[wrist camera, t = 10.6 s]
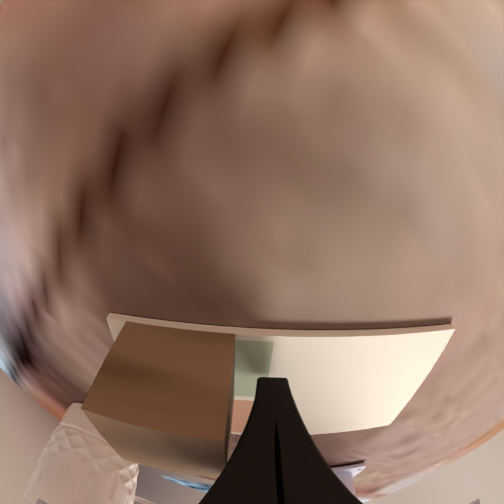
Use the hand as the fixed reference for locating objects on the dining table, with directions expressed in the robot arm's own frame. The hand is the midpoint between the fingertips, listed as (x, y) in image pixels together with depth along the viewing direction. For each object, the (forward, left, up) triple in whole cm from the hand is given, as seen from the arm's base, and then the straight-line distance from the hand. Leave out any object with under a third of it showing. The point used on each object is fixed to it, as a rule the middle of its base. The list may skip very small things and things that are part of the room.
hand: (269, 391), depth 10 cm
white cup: (-11, +12, -2) cm, 16 cm away
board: (-2, -1, -1) cm, 3 cm away
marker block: (0, +4, -1) cm, 4 cm away
